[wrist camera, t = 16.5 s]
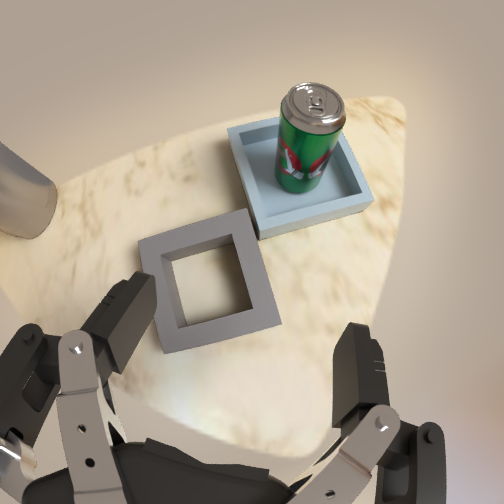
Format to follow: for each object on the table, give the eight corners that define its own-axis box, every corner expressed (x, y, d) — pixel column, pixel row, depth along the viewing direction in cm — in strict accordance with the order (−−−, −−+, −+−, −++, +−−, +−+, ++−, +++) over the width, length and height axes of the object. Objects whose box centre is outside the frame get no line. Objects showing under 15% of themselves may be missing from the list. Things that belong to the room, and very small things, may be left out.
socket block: (174, 349, 27) (163, 354, 23) (150, 248, 29) (137, 241, 26) (279, 322, 27) (281, 324, 24) (248, 219, 30) (247, 207, 26)
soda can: (319, 157, 30) (345, 83, 18) (320, 197, 29) (353, 131, 17) (275, 153, 30) (281, 76, 19) (273, 193, 29) (280, 123, 17)
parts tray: (259, 240, 29) (259, 230, 26) (230, 145, 31) (227, 128, 28) (363, 211, 29) (374, 199, 26) (323, 125, 32) (329, 108, 28)
